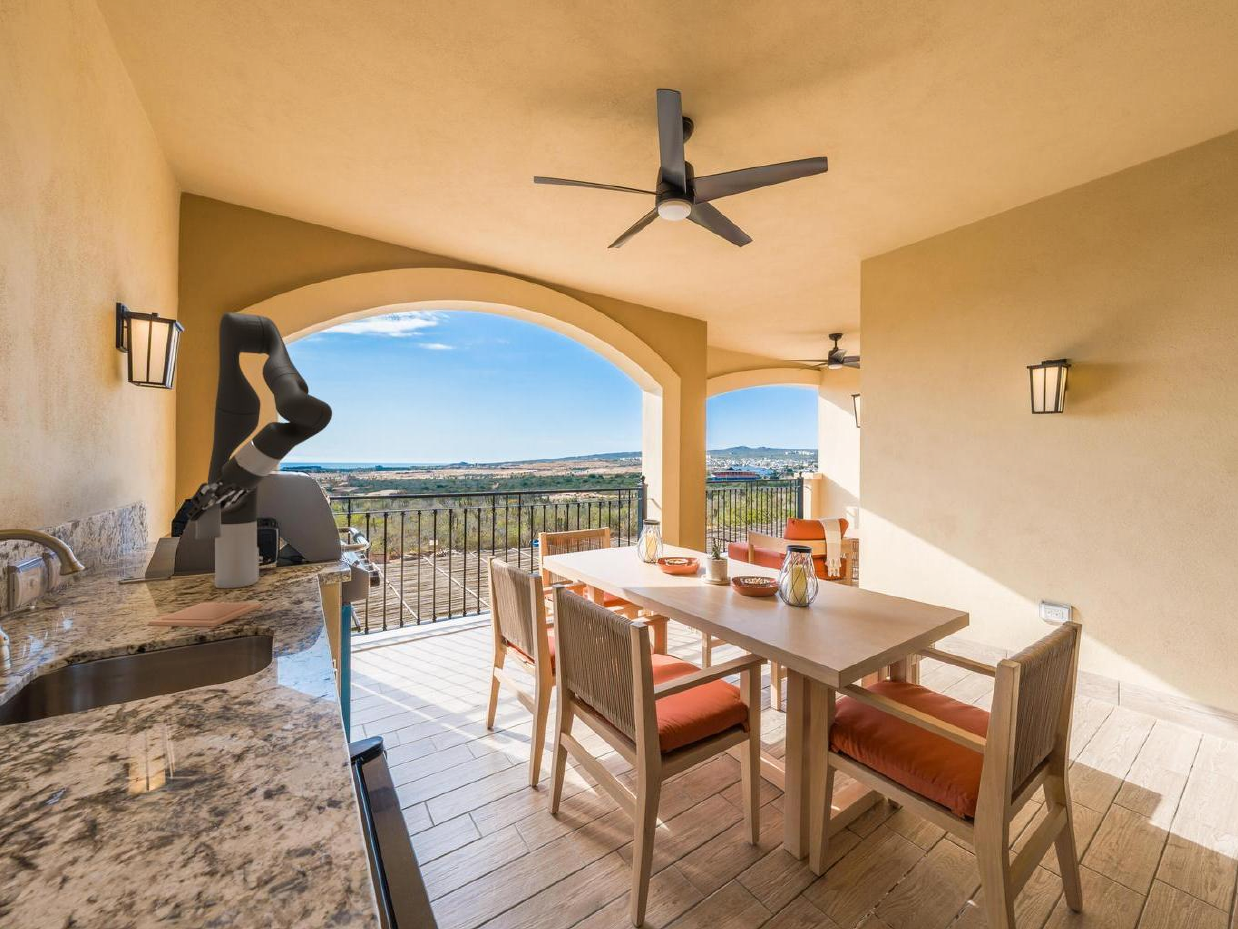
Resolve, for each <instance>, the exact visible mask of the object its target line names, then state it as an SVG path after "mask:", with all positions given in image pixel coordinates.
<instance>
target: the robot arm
mask: <svg viewBox="0 0 1238 929" xmlns="http://www.w3.org/2000/svg"><path fill="white" fill-rule="evenodd" d="M219 322H220V323H219V329H218V330H219V331H218V346H219V347H218V348H219V349H218V350H219V352H218V353H219V360H218V361H219V364H218V366H219V367H218V371H219V372H218V380H217V381H218V382H217V392H216V397H215V408H214V409H215V410H214V423H213V424H214V426H213V427H214V428H213V429H214V430H213V443H212V444H213V445H212V452H211V456H210V463H209V469H208V474H207V482H203V483H201V484H200V485H199V487H198V488H197V490H196V491H195V493H194V495H193V496H192V498H191V499H190V502H191V503H192V504H194V506H193V507H191V508H190V509H189V510H188V511H187V512H186V514H185V516H186V517H187V519H188V520H189V521H191V522H196V520H197V519H198V518H199V517H200V516H201V515H202V514H203V513H204V512H205V511H206V510H207V509H208V508H209V507H211V506H212V505H213V504H218V503H220V502H221V537H219V538H214V555H215V556H214V559H215V562H214V567H215V568H214V570H215V571H214V580H215V582H214V585H215V588H217V589H237V588H244V587H248V586H251V585H252V586H253V585H256V584H257V583H258V581H260V547H258V528H257V527H258V524H257V523H258V521H257V520H258V518H257V515H258V490H259V489H258V488H259V484H261V482H262V481H263V480H265V478H266V477H268V476H269V474H270V473H272V471H274V470H275V468H276V467H278V465H279V464H280V462H281V461H282V460H283V459H284V458H285V457H286V456H288V454H289V453H290V452H291V451H292V450H293V449H294V448H295V447H296V446H298V445H300V444H302V443H303V442H305V441H307V440H308V439H310V438H313V437H314V436H316V435H317V434H319V433H320V432H322V431H323V430H325V429H326V427H327V426H328V425H329V424H330V422H331V420H332V416H333V410H332V407H331V406H330V404H328V403H327V402H325V401H323V400H321V399H319V398H317V397H315V396H313V395H311V394H309V386H308V384H307V382H306V380H305V379H304V378H303V376H302V375H301V373H300V372H299V371H298V369H297V368H296V367H295V365H294V364H293V361H292V360H291V357H290V355H289V351H288V350H287V347H286V344H285V342H284V339H283V337H282V335H281V333H280V331H279V328H278V326H277V325H276V324H275V322H274V321H273V320H272V319H271V318H269V317H267V316H262V315H258V314H257V315H256V314H247V313H242V312H241V313H240V312H239V313H238V312H225V313H223V315H222V317H221V318H220V321H219ZM241 353H246V354H258V355H259V354H261V355H262V354H266V355H267V356H268V357H267V359H266V360H265V362H264V365H263V367H262V378H263V380H264V382H265V384H266V386H267V387H268V389H269V390H270V392H271V393H272V395H273V398H274V400H273V401H274V405H275V409H276V412H277V413H278V415H279V416H280V417H282V418H283V420H285V421H287V422H281V421H280V422H278V421H271V422H269V423H267V424H265V425H264V426H263V428H262V429H260V430H259V431H258V432H257V433H256V434H255V436H253V438H251V439H250V440H249V441H248V442H246V443H245V444H244V445H243V446H241V445H242V444H243V443H244V442H245V441H246V440H247V439H248V438H250V436H251V435H252V434H253V433H254V432H255V431H256V429H257V427H258V426H259V421H260V414H261V412H260V411H261V400H260V397H259V395H258V393H257V391H256V390H255V389H254V387H253V385H251V383H250V382H249V380H248V379H247V378H246V376H245V373H244V372H243V370H242V368H241V364H240V355H241ZM240 446H241V448H240V449H239V450H237V449H238V448H239V447H240ZM236 450H237V451H236ZM235 451H236V453H235V454H234V452H235ZM233 454H234V455H233ZM214 494H215V496H217V497H218V498H217V499H216V498H215V497H214V496H213V495H214ZM209 499H210V502H209V503H207V502H208V500H209ZM206 503H207V504H206ZM230 505H233V506H231V507H230V508H229V506H230ZM227 507H228V508H227ZM224 508H226V509H224Z"/></svg>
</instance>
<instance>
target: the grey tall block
mask: <svg viewBox="0 0 1238 929" xmlns="http://www.w3.org/2000/svg"><path fill="white" fill-rule="evenodd" d="M213 496H214V497H215V498H216V499H217V498H218V497H217V496H215V494H214V495H213ZM209 502H210V499H209V500H208V502H207V503H209ZM207 503H206V504H207ZM221 511H222V510H221V502H220V503H218V504H213V505H212V506H211V507H209V508H208V509H207V510H206V511H205V512H204V513H203V514H202V515H201V516H200V517H199V518H198V519H197V520H196V521H195V539H196V540H209V539H212V540H213V539H215V538H219V537H221Z"/></svg>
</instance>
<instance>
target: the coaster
mask: <svg viewBox="0 0 1238 929" xmlns="http://www.w3.org/2000/svg"><path fill="white" fill-rule="evenodd" d="M262 606H263V604H262V603H261V602H259V603H258V602H256V603H255V602H204V601H203V602H200V603H198V604H195V605H191V606H189V607H185V608H183V609H181V610H178V611H175V612H172V613H169V614H166V615H163V616H161V617H158V618H155V619H152V620H149V621H148V622H147V624H148V625H147V626H150V627H151V626H156V627H158V626H161V627H163V626H164V627H217V626H219V625H222V624H224V623H226V622H229V621H231V620H233V619H235V618H236V619H237V618H238V616H239V617H240V616H244V615H245V614H247V613H250V612H252V611H255V610H258V609H260V608H262Z"/></svg>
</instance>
